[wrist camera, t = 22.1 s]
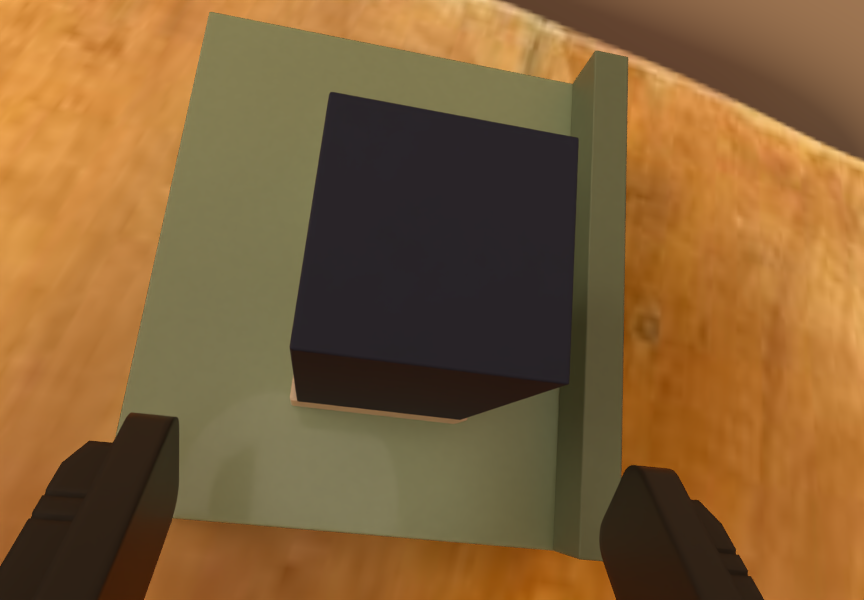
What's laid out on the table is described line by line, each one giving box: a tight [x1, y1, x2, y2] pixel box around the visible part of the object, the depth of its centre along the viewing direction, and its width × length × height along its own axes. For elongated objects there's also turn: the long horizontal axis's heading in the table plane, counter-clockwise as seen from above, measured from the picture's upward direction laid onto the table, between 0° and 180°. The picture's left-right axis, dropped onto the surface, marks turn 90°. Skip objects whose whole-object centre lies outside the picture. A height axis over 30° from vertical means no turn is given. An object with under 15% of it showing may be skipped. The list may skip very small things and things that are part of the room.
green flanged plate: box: [115, 12, 628, 561], centre depth 22 cm, size 14×16×6 cm
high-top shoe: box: [289, 92, 579, 424], centre depth 16 cm, size 9×5×10 cm, turn 175°
